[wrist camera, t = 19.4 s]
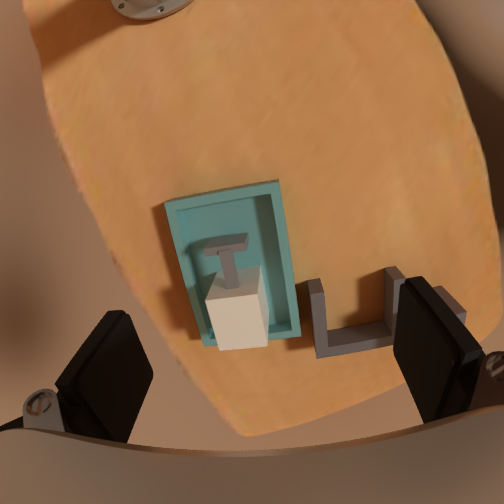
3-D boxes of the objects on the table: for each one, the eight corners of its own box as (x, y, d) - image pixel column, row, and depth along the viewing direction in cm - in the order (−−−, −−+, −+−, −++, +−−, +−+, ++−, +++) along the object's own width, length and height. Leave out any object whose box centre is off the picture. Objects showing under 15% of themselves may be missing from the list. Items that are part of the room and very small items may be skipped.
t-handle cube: (208, 234, 34) (193, 257, 27) (253, 227, 33) (248, 248, 27) (228, 315, 37) (219, 350, 31) (269, 311, 37) (267, 346, 30)
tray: (171, 198, 34) (164, 203, 31) (278, 179, 32) (279, 182, 30) (207, 335, 39) (203, 346, 37) (300, 324, 38) (301, 336, 35)
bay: (307, 280, 36) (313, 310, 29) (443, 257, 34) (471, 280, 27) (313, 341, 39) (319, 377, 32) (437, 317, 36) (459, 346, 30)
